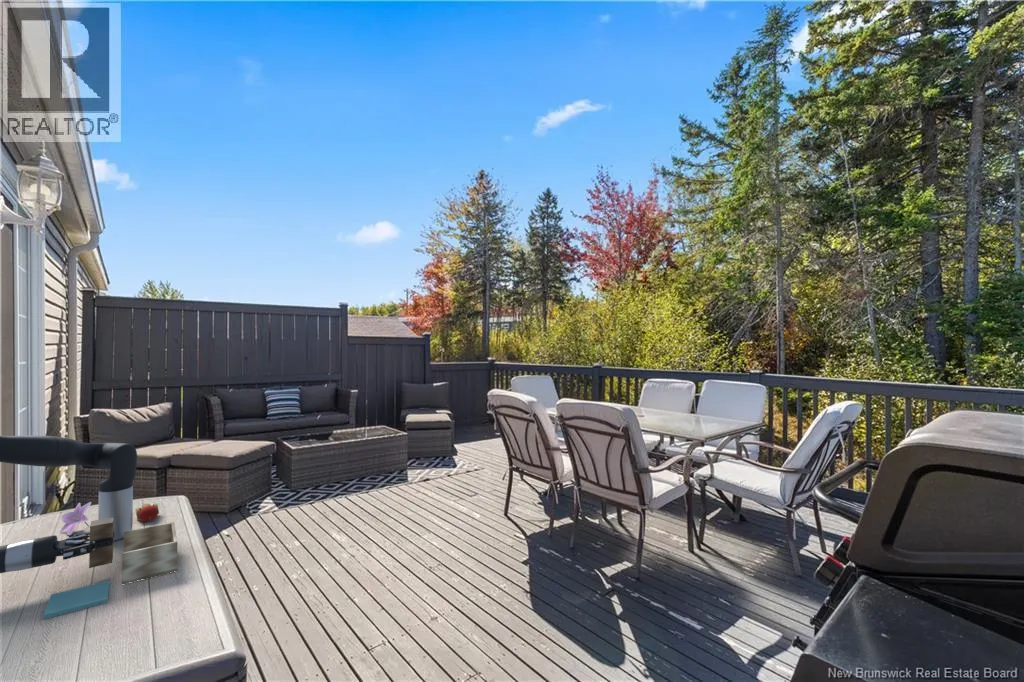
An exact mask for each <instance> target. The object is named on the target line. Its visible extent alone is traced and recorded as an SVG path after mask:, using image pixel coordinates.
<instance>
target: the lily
mask: <svg viewBox="0 0 1024 682" xmlns="http://www.w3.org/2000/svg"><path fill="white" fill-rule="evenodd" d="M91 504H92V502H91V501H89V502H88V503H85V504H84V505H81V502H78V503H77V504H76V507H75V508H74V510H73V511H69V512H66V513H63V514H61V515H60V520H61V521H62V522H63V523H64V525H63V526H62V527H61V528H60V531H59V532H61V533H64V532H65V531H66V533H67V536H68V535H71V534H73V531H75V528H76V527H77V526H78V524H79V525H80V524H83V523H84V524H86V525H87V527H88V526H89V527H90V524H88V523H87V522H88V520H89V518H88V517H87V516H86V515H85V513H86V511H87V510H88V508H89V507H90V506H91Z"/></svg>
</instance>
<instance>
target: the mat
mask: <svg viewBox="0 0 1024 682" xmlns="http://www.w3.org/2000/svg"><path fill="white" fill-rule="evenodd" d="M110 585H111V580H105V581H102V582H101V581H100V582H97V583H93V584H90V585H89V584H88V585H86V586H85V585H84V586H80V587H76V588H72V589H68V590H64V591H60V592H56V593H55V592H54V593H52V594H50V597H49V599H48V602H47V605H46V608H45V610H44V612H43V620H46V619H49V618H53V617H58V616H61V615H64V613H65V614H68V612H69V613H72V612H71V611H73V612H76V611H80V610H84V609H87V608H88V609H89V608H91V607H95V606H99V605H103V604H106V603H108V600H109V591H110ZM57 615H58V616H57Z"/></svg>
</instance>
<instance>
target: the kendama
mask: <svg viewBox="0 0 1024 682" xmlns="http://www.w3.org/2000/svg"><path fill="white" fill-rule="evenodd" d="M158 505H159V504H158V503H157V502H156V503H154V504H152V505H151V504H150V503H148V502H147V503H144V504H143V505H142V506H141V507H136V508H135V514H136V520H137V521H141V522H143V523H149V522H150V521H151V522H152V521H154V520H155V519H156V518H157V517H158V515H159V514H160V510H159V506H158Z"/></svg>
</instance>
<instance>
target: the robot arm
mask: <svg viewBox="0 0 1024 682" xmlns="http://www.w3.org/2000/svg"><path fill="white" fill-rule="evenodd" d="M137 461H138V454H137V449H136V447H135V446H134V445H133V444H131V443H124V442H122V443H121V442H103V443H102V442H100V443H98V442H97V443H95V442H94V443H92V442H91V443H89V442H88V443H87V442H81V441H79V440H75V439H73V438H68V437H62V436H54V435H52V436H51V435H40V434H39V435H35V434H34V435H33V434H31V435H30V434H29V435H26V434H25V435H0V463H4V464H5V463H6V464H13V465H21V466H22V465H23V466H33V467H47V468H48V467H51V468H55V467H57V468H58V467H59V468H61V467H69V466H83V467H85V466H86V467H91V468H97V469H102V470H109V476H108V478H106V479H104V480H102V481H100V482H99V484H98V519H97V520H101V519H107V518H112V517H114V531H113V537H110V538H105V539H99V540H93V541H90V531H87V532H80V533H72V534H71V535H69V536H68V537H67V538H66V539H61V540H59V539H58V536H57V535H49V536H43V537H38V538H33V539H32V538H31V539H27V540H21V541H17V542H14V543H9V544H3V545H0V574H4V573H10V572H18V571H24V570H28V569H34V568H38V567H43V566H48V565H53V564H54V563H56V562H57V561H56V560H57V557H62V559H63V561H64V560H68V559H73V558H76V557H80V556H84V555H87V554H89V553H91V552H92V550H95V549H96V548H101V547H106V546H111V545H113V546H114V541H117V540H121V538H122V539H124V532H125V531H130V530H133V512H134V511H133V505H134V504H133V500H134V492H133V491H134V490H133V489H134V486H133V485H134V481H135V478H136V475H137V464H138V462H137Z"/></svg>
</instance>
